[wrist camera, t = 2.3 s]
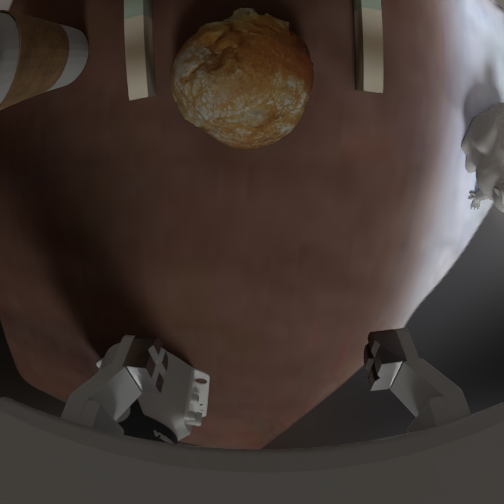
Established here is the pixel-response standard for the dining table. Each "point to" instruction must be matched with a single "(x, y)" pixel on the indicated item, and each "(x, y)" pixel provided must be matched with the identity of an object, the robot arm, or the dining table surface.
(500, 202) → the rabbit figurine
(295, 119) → the bread roll
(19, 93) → the coffee cup
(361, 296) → the dining table surface
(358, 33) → the channel
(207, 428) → the dining table surface
